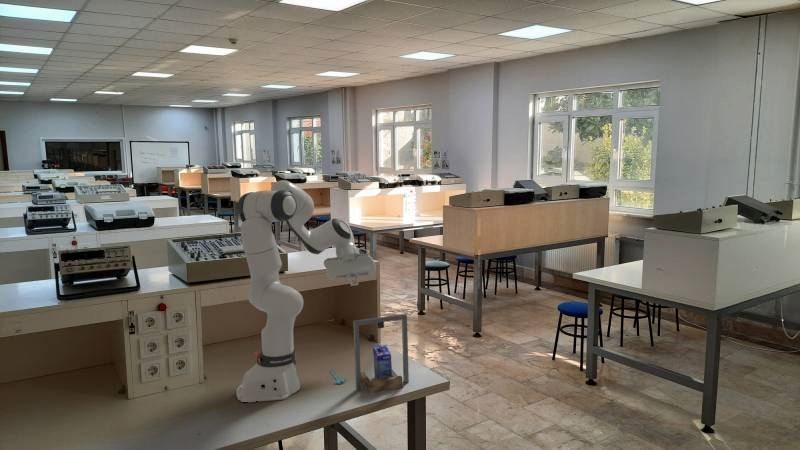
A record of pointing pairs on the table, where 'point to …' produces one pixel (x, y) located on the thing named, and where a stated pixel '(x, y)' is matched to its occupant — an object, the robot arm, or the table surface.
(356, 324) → the scanner arch
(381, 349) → the ink cartridge box
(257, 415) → the table surface
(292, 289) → the robot arm
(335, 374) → the adjustable wrench
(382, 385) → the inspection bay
